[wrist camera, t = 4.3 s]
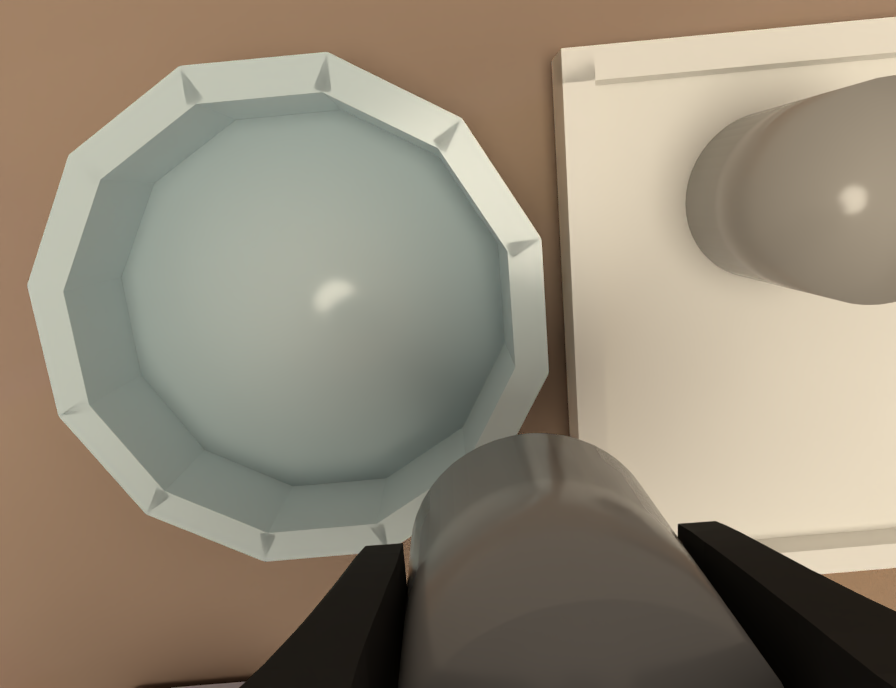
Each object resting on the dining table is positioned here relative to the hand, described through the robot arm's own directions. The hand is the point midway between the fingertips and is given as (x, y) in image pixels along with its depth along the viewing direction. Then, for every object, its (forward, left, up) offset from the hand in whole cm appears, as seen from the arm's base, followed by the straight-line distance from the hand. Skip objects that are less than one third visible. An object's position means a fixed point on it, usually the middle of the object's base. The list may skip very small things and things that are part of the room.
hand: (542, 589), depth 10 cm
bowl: (+4, +5, -9) cm, 11 cm away
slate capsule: (0, 0, -1) cm, 1 cm away
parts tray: (+2, -8, -9) cm, 12 cm away
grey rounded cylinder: (+6, -8, -8) cm, 13 cm away
